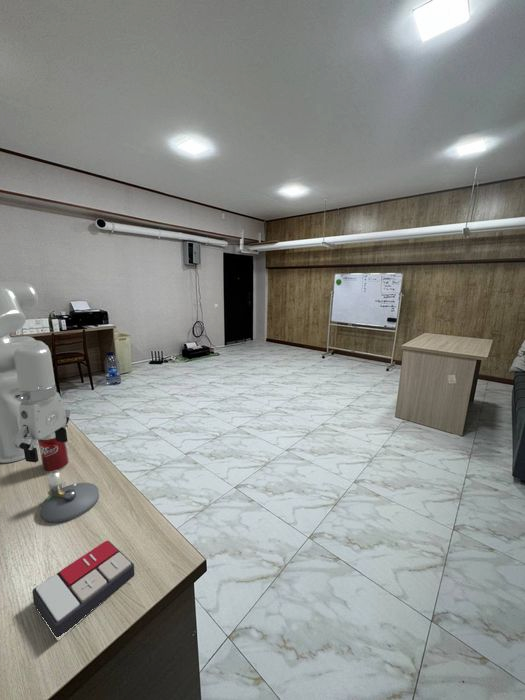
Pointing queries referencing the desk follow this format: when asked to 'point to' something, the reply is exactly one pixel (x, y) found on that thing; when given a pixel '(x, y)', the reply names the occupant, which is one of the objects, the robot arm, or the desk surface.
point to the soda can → (53, 453)
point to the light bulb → (58, 486)
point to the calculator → (82, 586)
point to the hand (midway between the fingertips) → (48, 450)
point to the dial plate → (69, 503)
